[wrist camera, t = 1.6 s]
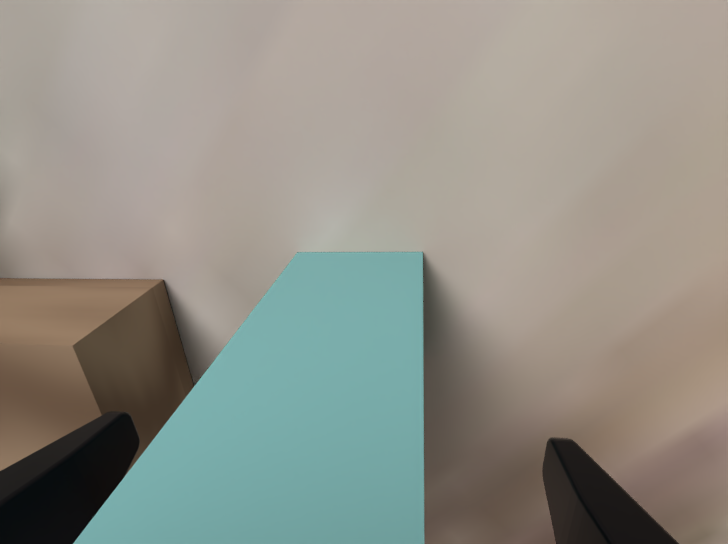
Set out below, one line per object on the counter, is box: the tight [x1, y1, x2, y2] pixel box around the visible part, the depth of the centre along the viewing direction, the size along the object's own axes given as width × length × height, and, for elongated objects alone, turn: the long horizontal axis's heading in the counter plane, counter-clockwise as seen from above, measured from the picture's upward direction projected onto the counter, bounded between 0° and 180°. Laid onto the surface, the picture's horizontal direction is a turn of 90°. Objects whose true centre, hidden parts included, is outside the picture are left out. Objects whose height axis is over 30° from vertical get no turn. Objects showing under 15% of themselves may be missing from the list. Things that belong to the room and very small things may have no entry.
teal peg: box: [73, 252, 424, 544], centre depth 9 cm, size 4×4×10 cm
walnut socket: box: [0, 278, 194, 476], centre depth 16 cm, size 16×16×4 cm
